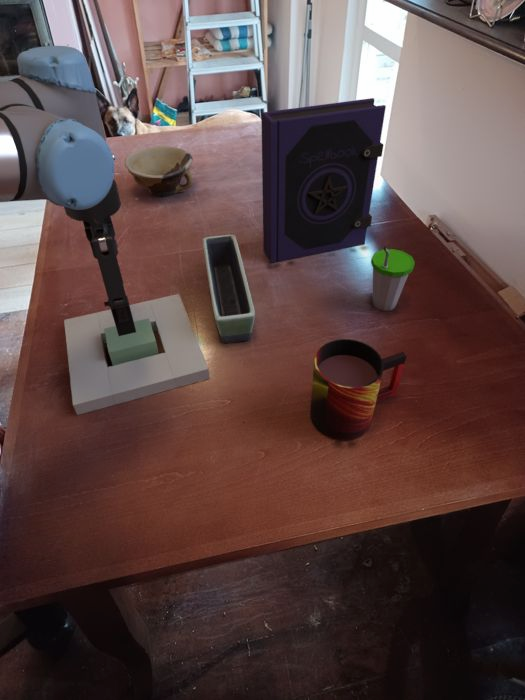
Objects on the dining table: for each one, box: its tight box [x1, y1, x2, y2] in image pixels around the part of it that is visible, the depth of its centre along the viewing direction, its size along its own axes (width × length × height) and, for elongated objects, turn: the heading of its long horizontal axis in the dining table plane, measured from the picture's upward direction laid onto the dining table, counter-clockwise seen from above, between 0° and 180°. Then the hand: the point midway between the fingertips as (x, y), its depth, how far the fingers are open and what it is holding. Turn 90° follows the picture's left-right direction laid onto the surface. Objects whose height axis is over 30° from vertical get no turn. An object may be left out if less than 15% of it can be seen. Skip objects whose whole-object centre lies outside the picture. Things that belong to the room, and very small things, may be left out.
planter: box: [202, 234, 256, 344], centre depth 94 cm, size 28×7×7 cm, turn 10°
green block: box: [104, 318, 160, 366], centre depth 85 cm, size 8×6×4 cm
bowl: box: [124, 145, 194, 198], centre depth 128 cm, size 18×18×10 cm
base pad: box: [63, 293, 211, 416], centre depth 85 cm, size 22×22×2 cm
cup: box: [370, 246, 416, 312], centre depth 90 cm, size 8×8×15 cm
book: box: [260, 97, 387, 264], centre depth 100 cm, size 24×6×30 cm, turn 109°
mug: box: [309, 338, 407, 442], centre depth 72 cm, size 10×14×12 cm
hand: (121, 307), depth 79 cm, fingers open, 13 cm apart
